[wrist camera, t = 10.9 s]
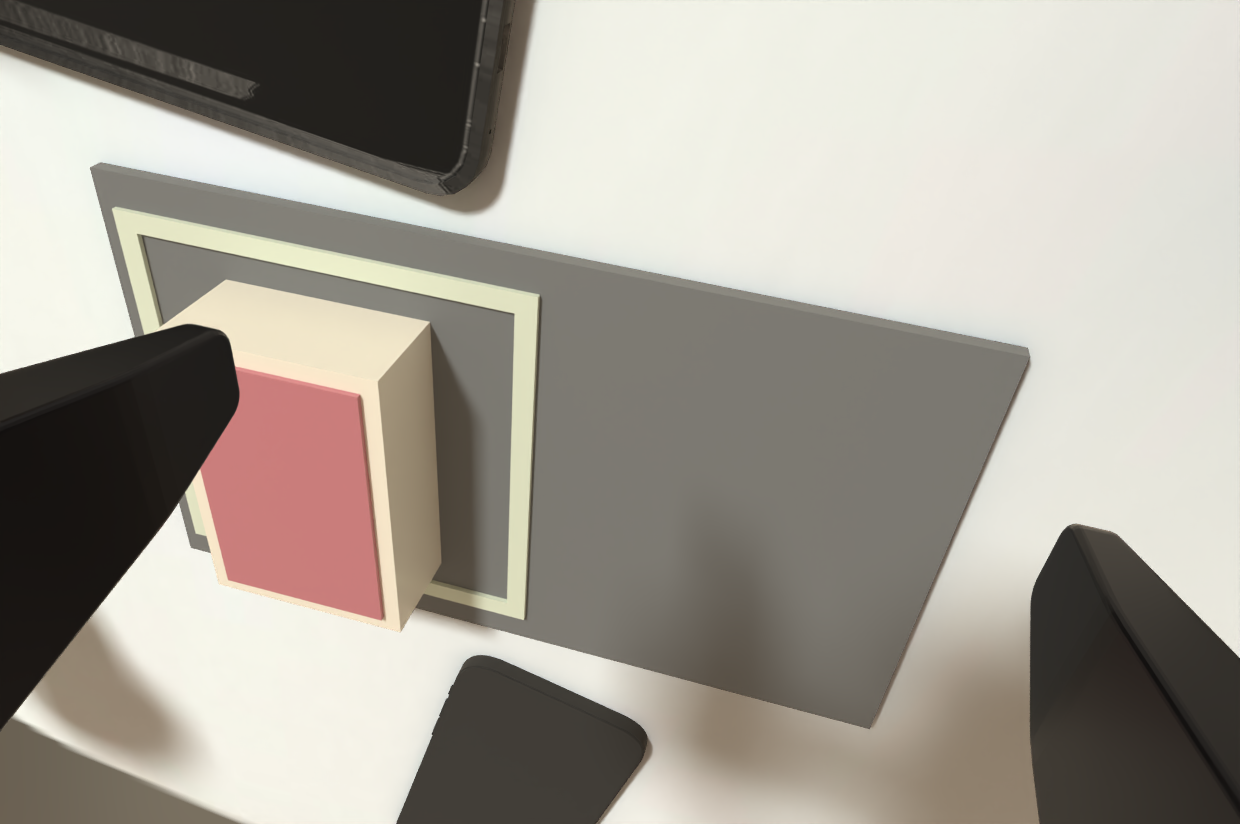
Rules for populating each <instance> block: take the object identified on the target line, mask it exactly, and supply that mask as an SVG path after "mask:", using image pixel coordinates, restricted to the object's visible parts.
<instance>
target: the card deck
mask: <svg viewBox="0 0 1240 824" xmlns="http://www.w3.org/2000/svg"><path fill="white" fill-rule="evenodd" d="M182 324H197V325H201V326H205V327H210V328H214V329H218V330H221V331H222V332H224V333H225V334H226V335H227V337H228V338H229V340H230V343H231V348H232V353H233V358H234V364H235V369H236V374H237V379H238V384H239V390H240V398H239V404H238V407H237V410H236V412H235V414H234V416H233V417H232V419H231V421H230V422H229V424H228V425H227V427H226V429H225V430H224V432H223V433H222V435H221V436H220V438H219V440H218V441H217V443H216V444H215V446H214V448H213V449H212V451H211V452H210V454H209V456H208V457H207V459H206V460H205V462H204V464H203V465H202V467H201V468H200V470H199V471H198V473H197V475H196V476H195V478H194V479H193V481H192V482H193V486H194V490H195V494H196V497H197V501H198V505H199V509H200V513H201V517H202V520H203V524H204V528H205V532H206V536H207V540H208V544H209V547H210V551H211V555H212V559H213V563H214V567H215V571H216V574H217V578H218V582H219V584H221V585H224V586H228V587H232V588H236V589H239V590H243V591H247V592H251V593H254V594H258V595H262V596H266V597H269V598H273V599H277V600H281V601H284V602H288V603H292V604H296V605H300V606H303V607H307V608H311V609H315V610H318V611H322V612H326V613H330V614H333V615H337V616H341V617H345V618H348V619H352V620H356V621H360V622H363V623H367V624H371V625H375V626H378V627H382V628H386V629H390V630H394V631H397V632H401V631H402V629H403V628H404V626H405V624H406V622H407V621H408V619H409V617H410V616H411V614H412V612H413V611H414V609H415V607H416V605H417V604H418V602H419V600H420V599H421V597H422V595H423V594H424V592H425V590H426V588H427V587H428V585H429V583H430V582H431V580H432V578H433V577H434V575H435V573H436V571H437V570H438V568H439V566H440V565H441V563H442V562H441V541H440V520H439V499H438V478H437V457H436V436H435V415H434V394H433V373H432V352H431V331H430V322H428V321H423V320H419V319H414V318H409V317H404V316H399V315H395V314H390V313H385V312H380V311H375V310H371V309H366V308H361V307H356V306H351V305H346V304H342V303H337V302H332V301H327V300H322V299H318V298H313V297H308V296H303V295H298V294H294V293H289V292H284V291H279V290H274V289H270V288H265V287H260V286H255V285H250V284H245V283H241V282H236V281H231V280H225V281H223V282H222V283H220V284H219V285H218V286H216V287H215V288H213V289H212V290H211V291H209V292H208V293H207V294H205V295H204V296H202V297H201V298H200V299H198V300H197V301H196V302H194V303H193V304H191V305H190V306H189V307H187V308H186V309H184V310H183V311H182V312H180V313H179V314H178V315H176V316H175V317H173V318H172V319H171V320H169V321H168V322H167V323H165V324H164V325H162V326H161V327H160V328H158V329H157V330H155V331H154V332H157V331H160V330H164V329H168V328H171V327H175V326H179V325H182Z"/></svg>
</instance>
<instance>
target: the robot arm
mask: <svg viewBox="0 0 1240 824" xmlns="http://www.w3.org/2000/svg"><path fill="white" fill-rule="evenodd" d="M239 398H240V390H239V384H238V379H237V374H236V369H235V364H234V358H233V353H232V348H231V343H230V340H229V338H228V337H227V335H226V334H225V333H224V332H222V331H221V330H218V329H214V328H210V327H205V326H201V325H197V324H182V325H179V326H175V327H171V328H168V329H164V330H160V331H157V332H153V333H149V334H145V335H142V336H138V337H134V338H131V339H127V340H123V341H119V342H116V343H112V344H108V345H105V346H101V347H97V348H94V349H90V350H86V351H82V352H79V353H75V354H71V355H68V356H64V357H60V358H57V359H53V360H49V361H45V362H42V363H38V364H34V365H31V366H27V367H23V368H20V369H16V370H12V371H8V372H5V373H1V374H0V731H1V730H2V729H3V728H4V726H5V725H6V724H7V722H8V721H9V720H10V719H11V717H12V716H13V715H14V714H15V712H16V711H17V710H18V709H19V707H20V706H21V705H22V704H23V702H24V701H25V700H26V698H27V697H28V696H29V695H30V693H31V692H32V691H33V690H34V688H35V687H36V686H37V685H38V683H39V682H40V681H41V679H42V678H43V677H44V676H45V674H46V673H47V672H48V671H49V669H50V668H51V667H52V666H53V664H54V663H55V662H56V660H57V659H58V658H59V657H60V655H61V654H62V653H63V652H64V650H65V649H66V648H67V647H68V645H69V644H70V643H71V641H72V640H73V639H74V638H75V636H76V635H77V634H78V633H79V631H80V630H81V629H82V628H83V626H84V625H85V624H86V622H87V621H88V620H89V619H90V617H91V616H92V615H93V614H94V612H95V611H96V610H97V609H98V607H99V606H100V605H101V603H102V602H103V601H104V600H105V598H106V597H107V596H108V595H109V593H110V592H111V591H112V590H113V588H114V587H115V586H116V585H117V583H118V582H119V581H120V579H121V578H122V577H123V576H124V574H125V573H126V572H127V571H128V569H129V568H130V567H131V566H132V564H133V563H134V562H135V560H136V559H137V558H138V557H139V555H140V554H141V553H142V552H143V550H144V549H145V548H146V547H147V545H148V544H149V543H150V541H151V540H152V539H153V538H154V536H155V535H156V534H157V533H158V531H159V530H160V529H161V527H162V526H163V525H164V523H165V522H166V520H167V519H168V518H169V516H170V515H171V513H172V512H173V510H174V509H175V507H176V506H177V504H178V503H179V502H180V500H181V499H182V497H183V495H184V494H185V492H186V491H187V489H188V487H189V486H190V484H191V483H192V481H193V479H194V478H195V476H196V475H197V473H198V471H199V470H200V468H201V467H202V465H203V464H204V462H205V460H206V459H207V457H208V456H209V454H210V452H211V451H212V449H213V448H214V446H215V444H216V443H217V441H218V440H219V438H220V436H221V435H222V433H223V432H224V430H225V429H226V427H227V425H228V424H229V422H230V421H231V419H232V417H233V416H234V414H235V412H236V410H237V407H238V404H239ZM1030 743H1031V754H1032V765H1033V774H1034V782H1035V790H1036V798H1037V807H1038V815H1039V823H1040V824H1240V658H1239V657H1238V656H1237V655H1236V654H1235V653H1234V652H1233V651H1232V650H1231V649H1230V648H1229V647H1228V646H1227V645H1226V644H1225V643H1224V642H1223V641H1222V640H1221V639H1220V638H1219V637H1218V636H1217V635H1216V634H1215V633H1214V632H1213V631H1212V630H1211V628H1210V627H1209V626H1208V625H1207V624H1206V623H1205V622H1204V621H1203V620H1202V619H1201V618H1200V617H1199V616H1198V615H1197V614H1196V613H1195V612H1194V611H1193V610H1192V609H1191V608H1190V607H1189V606H1188V605H1187V604H1186V603H1185V602H1184V601H1183V600H1182V599H1181V598H1180V597H1179V596H1178V595H1177V594H1176V593H1175V592H1174V591H1173V590H1172V589H1171V588H1170V587H1169V586H1168V585H1167V584H1166V583H1165V582H1164V581H1163V580H1162V579H1161V578H1160V577H1159V576H1158V575H1157V574H1156V573H1155V572H1154V571H1153V570H1152V569H1151V568H1150V567H1149V566H1148V565H1147V564H1146V563H1145V562H1144V561H1143V560H1142V559H1141V558H1140V557H1139V556H1138V555H1137V554H1136V553H1135V552H1134V551H1133V550H1132V549H1131V548H1130V547H1129V546H1128V545H1127V544H1126V543H1125V542H1124V541H1123V540H1122V539H1121V538H1120V537H1119V536H1118V535H1117V534H1115V533H1113V532H1111V531H1107V530H1103V529H1098V528H1094V527H1089V526H1085V525H1080V524H1072V525H1069V526H1067V527H1066V528H1065V529H1064V530H1063V532H1062V533H1061V535H1060V536H1059V538H1058V540H1057V542H1056V544H1055V546H1054V548H1053V549H1052V551H1051V553H1050V555H1049V557H1048V559H1047V561H1046V563H1045V565H1044V566H1043V568H1042V570H1041V572H1040V574H1039V576H1038V578H1037V580H1036V582H1035V585H1034V588H1033V592H1032V597H1031V621H1030Z"/></svg>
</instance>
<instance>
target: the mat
mask: <svg viewBox="0 0 1240 824" xmlns="http://www.w3.org/2000/svg"><path fill="white" fill-rule="evenodd" d="M90 170H91V174H92V177H93V181H94V185H95V189H96V192H97V196H98V200H99V204H100V207H101V211H102V215H103V219H104V222H105V226H106V230H107V234H108V237H109V241H110V245H111V249H112V252H113V256H114V260H115V264H116V268H117V271H118V275H119V279H120V283H121V286H122V290H123V294H124V298H125V301H126V305H127V309H128V313H129V316H130V320H131V324H132V328H133V331H134V335H135V337H138V336H142V335H145V334H149V333H153V332H154V331H155V330H157V329H158V328H160V327H161V326H162V325H164V324H165V323H167V322H168V321H169V320H171V319H172V318H173V317H175V316H176V315H178V314H179V313H180V312H182V311H183V310H184V309H186V308H187V307H189V306H190V305H191V304H193V303H194V302H196V301H197V300H198V299H200V298H201V297H202V296H204V295H205V294H207V293H208V292H209V291H211V290H212V289H213V288H215V287H216V286H218V285H219V284H220V283H222V282H223V281H225V280H231V281H236V282H241V283H245V284H250V285H255V286H260V287H265V288H270V289H274V290H279V291H284V292H289V293H294V294H298V295H303V296H308V297H313V298H318V299H322V300H327V301H332V302H337V303H342V304H346V305H351V306H356V307H361V308H366V309H371V310H375V311H380V312H385V313H390V314H395V315H399V316H404V317H409V318H414V319H419V320H423V321H428V322H430V331H431V352H432V373H433V394H434V415H435V436H436V457H437V478H438V499H439V520H440V541H441V562H442V563H441V565H440V566H439V568H438V570H437V571H436V573H435V575H434V577H433V578H432V580H431V582H430V583H429V585H428V587H427V588H426V590H425V592H424V594H423V595H422V597H421V599H420V600H419V602H418V604H417V605H416V607H415V608H419V609H422V610H426V611H430V612H434V613H437V614H441V615H445V616H449V617H452V618H456V619H460V620H464V621H467V622H471V623H475V624H479V625H482V626H486V627H490V628H494V629H497V630H501V631H505V632H509V633H512V634H516V635H520V636H524V637H527V638H531V639H535V640H538V641H542V642H546V643H550V644H553V645H557V646H561V647H565V648H568V649H572V650H576V651H580V652H583V653H587V654H591V655H595V656H598V657H602V658H606V659H610V660H613V661H617V662H621V663H625V664H628V665H632V666H636V667H640V668H643V669H647V670H651V671H655V672H658V673H662V674H666V675H669V676H673V677H677V678H681V679H684V680H688V681H692V682H696V683H699V684H703V685H707V686H711V687H714V688H718V689H722V690H726V691H729V692H733V693H737V694H741V695H744V696H748V697H752V698H756V699H759V700H763V701H767V702H771V703H774V704H778V705H782V706H786V707H789V708H793V709H797V710H800V711H804V712H808V713H812V714H815V715H819V716H823V717H827V718H830V719H834V720H838V721H842V722H845V723H849V724H853V725H857V726H860V727H864V728H868V729H870V727H871V724H872V722H873V720H874V717H875V715H876V713H877V710H878V708H879V706H880V704H881V701H882V699H883V697H884V694H885V692H886V690H887V687H888V685H889V683H890V680H891V678H892V676H893V673H894V671H895V669H896V666H897V664H898V662H899V659H900V657H901V655H902V652H903V650H904V648H905V646H906V643H907V641H908V639H909V636H910V634H911V632H912V629H913V627H914V625H915V622H916V620H917V618H918V615H919V613H920V611H921V608H922V606H923V604H924V601H925V599H926V597H927V594H928V592H929V590H930V588H931V585H932V583H933V581H934V578H935V576H936V574H937V571H938V569H939V567H940V564H941V562H942V560H943V557H944V555H945V553H946V550H947V548H948V546H949V543H950V541H951V539H952V537H953V534H954V532H955V530H956V527H957V525H958V523H959V520H960V518H961V516H962V513H963V511H964V509H965V506H966V504H967V502H968V499H969V497H970V495H971V492H972V490H973V488H974V485H975V483H976V481H977V479H978V476H979V474H980V472H981V469H982V467H983V465H984V462H985V460H986V458H987V455H988V453H989V451H990V448H991V446H992V444H993V441H994V439H995V437H996V434H997V432H998V430H999V428H1000V425H1001V423H1002V421H1003V418H1004V416H1005V414H1006V411H1007V409H1008V407H1009V404H1010V402H1011V400H1012V397H1013V395H1014V393H1015V390H1016V388H1017V386H1018V383H1019V381H1020V379H1021V376H1022V374H1023V372H1024V370H1025V367H1026V365H1027V363H1028V360H1029V358H1030V355H1029V350H1028V348H1026V347H1021V346H1016V345H1011V344H1006V343H1001V342H996V341H991V340H986V339H981V338H976V337H971V336H966V335H961V334H956V333H951V332H946V331H941V330H936V329H931V328H926V327H921V326H916V325H911V324H906V323H901V322H896V321H891V320H886V319H881V318H876V317H871V316H866V315H861V314H856V313H851V312H846V311H841V310H836V309H831V308H826V307H821V306H816V305H811V304H806V303H801V302H796V301H791V300H786V299H781V298H776V297H771V296H766V295H761V294H756V293H751V292H746V291H741V290H736V289H731V288H726V287H721V286H716V285H711V284H706V283H701V282H696V281H691V280H686V279H681V278H676V277H671V276H666V275H661V274H656V273H651V272H646V271H641V270H636V269H631V268H626V267H621V266H616V265H611V264H606V263H601V262H596V261H591V260H586V259H581V258H576V257H571V256H566V255H561V254H556V253H551V252H546V251H541V250H536V249H531V248H526V247H521V246H516V245H511V244H506V243H501V242H496V241H491V240H486V239H481V238H476V237H471V236H466V235H461V234H456V233H451V232H446V231H441V230H436V229H431V228H426V227H421V226H416V225H411V224H406V223H401V222H396V221H391V220H386V219H381V218H376V217H371V216H366V215H361V214H356V213H351V212H346V211H341V210H336V209H331V208H326V207H321V206H316V205H311V204H306V203H301V202H296V201H291V200H286V199H281V198H276V197H271V196H266V195H261V194H256V193H251V192H246V191H241V190H236V189H231V188H226V187H221V186H216V185H211V184H206V183H201V182H196V181H191V180H186V179H181V178H176V177H171V176H166V175H161V174H156V173H151V172H146V171H141V170H136V169H131V168H126V167H121V166H116V165H111V164H106V163H99V164H96V165H94V166H92V167H90ZM179 504H180V508H181V512H182V516H183V519H184V523H185V527H186V531H187V534H188V538H189V542H190V546H191V548H194V549H198V550H202V551H205V552H209V553H211V551H210V547H209V544H208V540H207V536H206V532H205V528H204V524H203V520H202V517H201V513H200V509H199V505H198V501H197V497H196V494H195V490H194V486H193V482H192V483H191V484H190V486H189V487H188V489H187V491H186V492H185V494H184V495H183V497H182V499H181V500H180V502H179Z"/></svg>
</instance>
